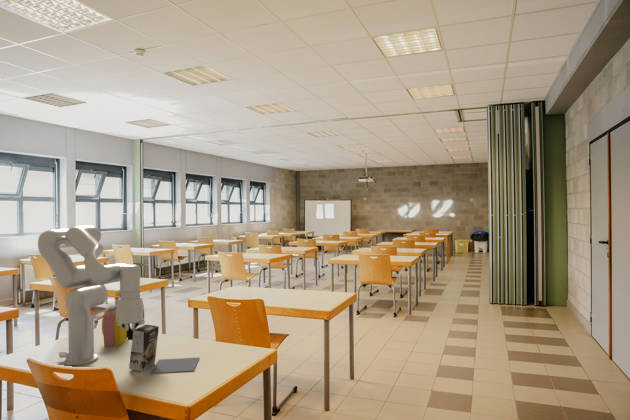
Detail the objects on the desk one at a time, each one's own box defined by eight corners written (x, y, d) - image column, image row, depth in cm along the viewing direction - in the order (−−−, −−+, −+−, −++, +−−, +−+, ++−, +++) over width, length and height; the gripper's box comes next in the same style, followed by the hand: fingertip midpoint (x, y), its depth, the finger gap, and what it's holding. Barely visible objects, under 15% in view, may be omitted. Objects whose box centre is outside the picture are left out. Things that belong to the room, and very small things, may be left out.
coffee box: (142, 372, 168) (146, 332, 167) (128, 369, 169) (132, 329, 169) (155, 363, 177) (159, 326, 176) (142, 360, 178) (145, 323, 177)
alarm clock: (110, 338, 212) (110, 302, 212) (128, 337, 214) (127, 301, 214) (101, 348, 198) (101, 309, 198) (119, 346, 199) (119, 308, 199)
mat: (149, 374, 166) (149, 373, 166) (158, 360, 180) (158, 359, 180) (193, 371, 168) (193, 370, 168) (199, 358, 183) (199, 357, 183)
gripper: (107, 297, 168) (108, 343, 167) (146, 295, 169) (147, 341, 169) (114, 293, 175) (115, 337, 175) (151, 292, 177) (152, 335, 177)
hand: (131, 339), depth 172 cm, fingers closed
